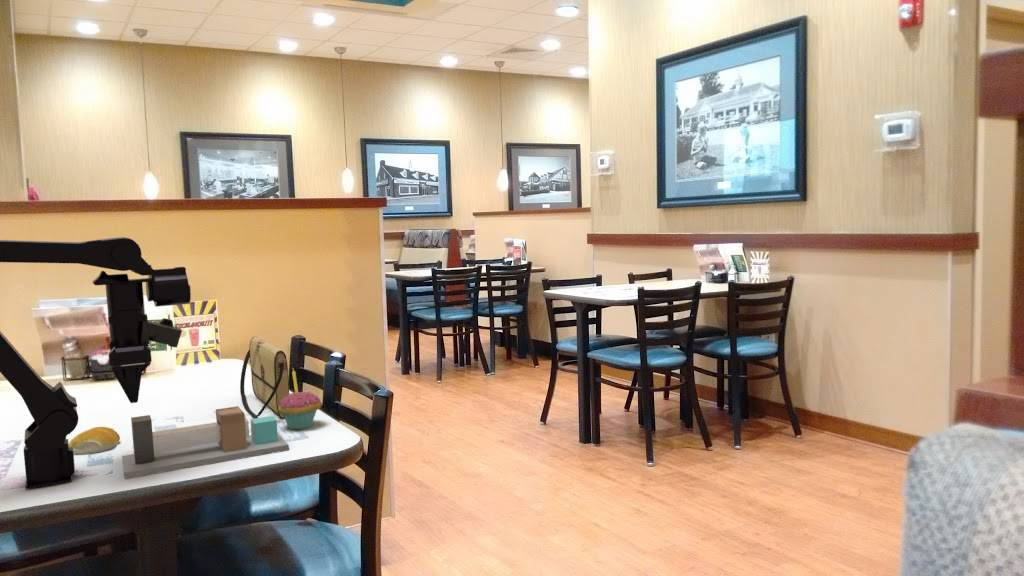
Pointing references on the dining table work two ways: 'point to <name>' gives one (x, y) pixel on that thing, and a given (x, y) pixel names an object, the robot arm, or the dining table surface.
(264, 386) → the shoulder bag
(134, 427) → the grey long block
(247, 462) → the dining table surface
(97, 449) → the bread roll
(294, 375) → the cupcake
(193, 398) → the dining table surface
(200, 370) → the dining table surface
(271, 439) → the block
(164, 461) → the guide
